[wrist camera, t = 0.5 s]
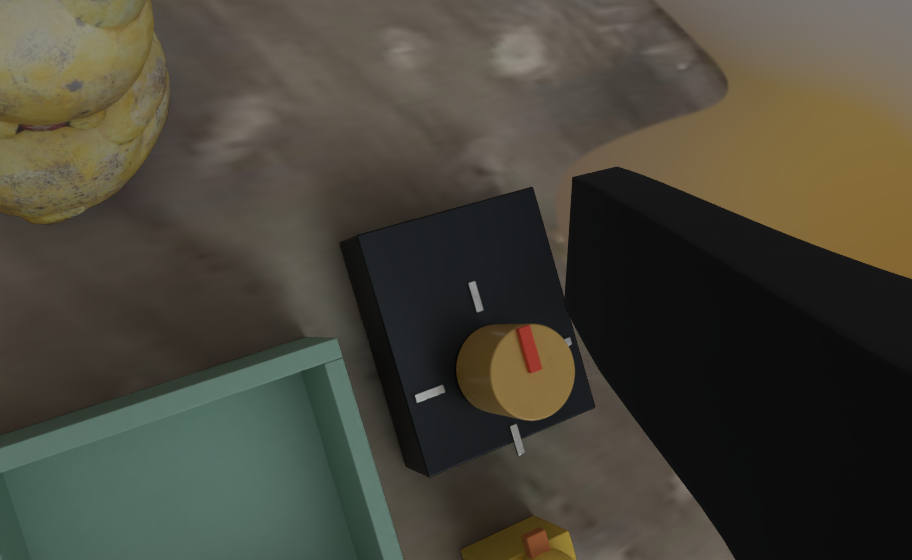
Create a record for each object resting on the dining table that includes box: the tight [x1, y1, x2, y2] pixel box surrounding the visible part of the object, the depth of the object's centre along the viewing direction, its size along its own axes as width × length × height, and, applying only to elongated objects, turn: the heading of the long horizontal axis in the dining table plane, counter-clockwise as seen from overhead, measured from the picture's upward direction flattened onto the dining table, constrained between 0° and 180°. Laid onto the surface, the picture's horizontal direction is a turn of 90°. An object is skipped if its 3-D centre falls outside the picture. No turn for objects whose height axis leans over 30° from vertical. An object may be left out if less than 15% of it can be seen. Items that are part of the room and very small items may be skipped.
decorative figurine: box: [0, 0, 170, 224], centre depth 25 cm, size 10×8×15 cm
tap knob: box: [456, 324, 575, 421], centre depth 34 cm, size 4×4×4 cm
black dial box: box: [340, 187, 595, 477], centre depth 37 cm, size 12×9×3 cm
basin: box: [0, 337, 404, 560], centre depth 31 cm, size 14×14×6 cm
